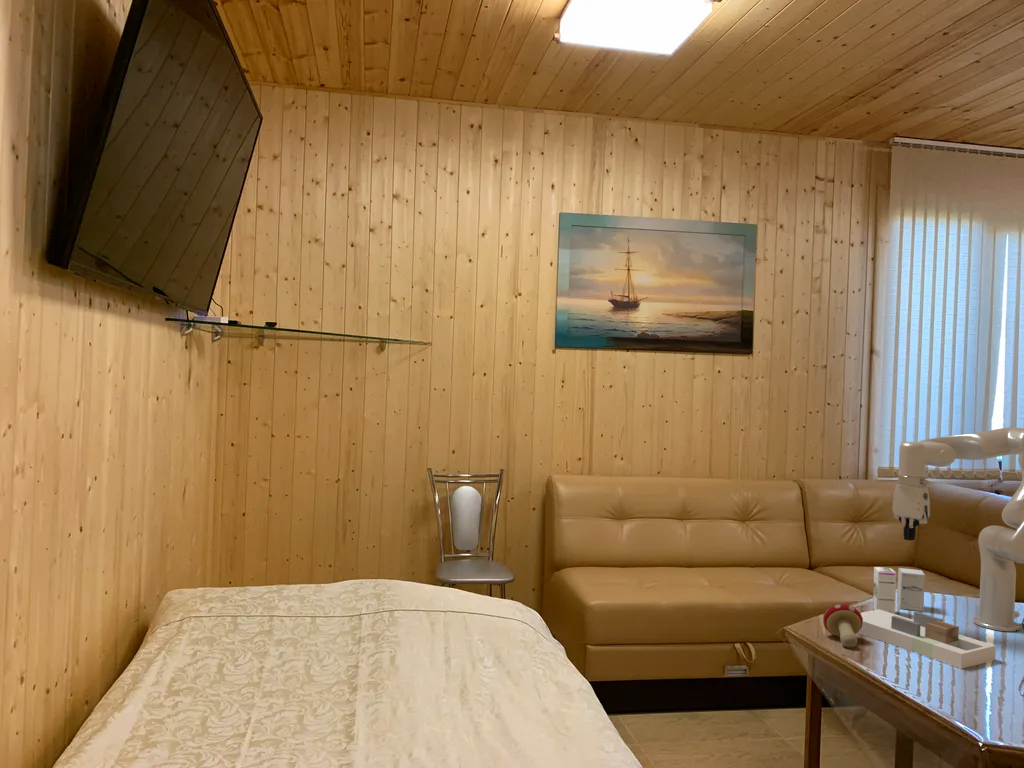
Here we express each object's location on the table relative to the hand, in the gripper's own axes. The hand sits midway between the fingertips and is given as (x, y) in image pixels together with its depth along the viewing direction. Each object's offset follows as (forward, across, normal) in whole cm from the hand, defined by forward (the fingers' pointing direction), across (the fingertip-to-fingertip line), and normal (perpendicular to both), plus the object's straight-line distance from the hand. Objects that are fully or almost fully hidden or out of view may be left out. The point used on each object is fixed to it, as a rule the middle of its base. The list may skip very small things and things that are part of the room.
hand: (909, 539), depth 243 cm
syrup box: (+27, +12, -6) cm, 30 cm away
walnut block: (+23, -20, +14) cm, 34 cm away
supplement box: (+27, +12, -20) cm, 36 cm away
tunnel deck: (+27, -12, +13) cm, 32 cm away
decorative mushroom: (+27, -1, +32) cm, 42 cm away
